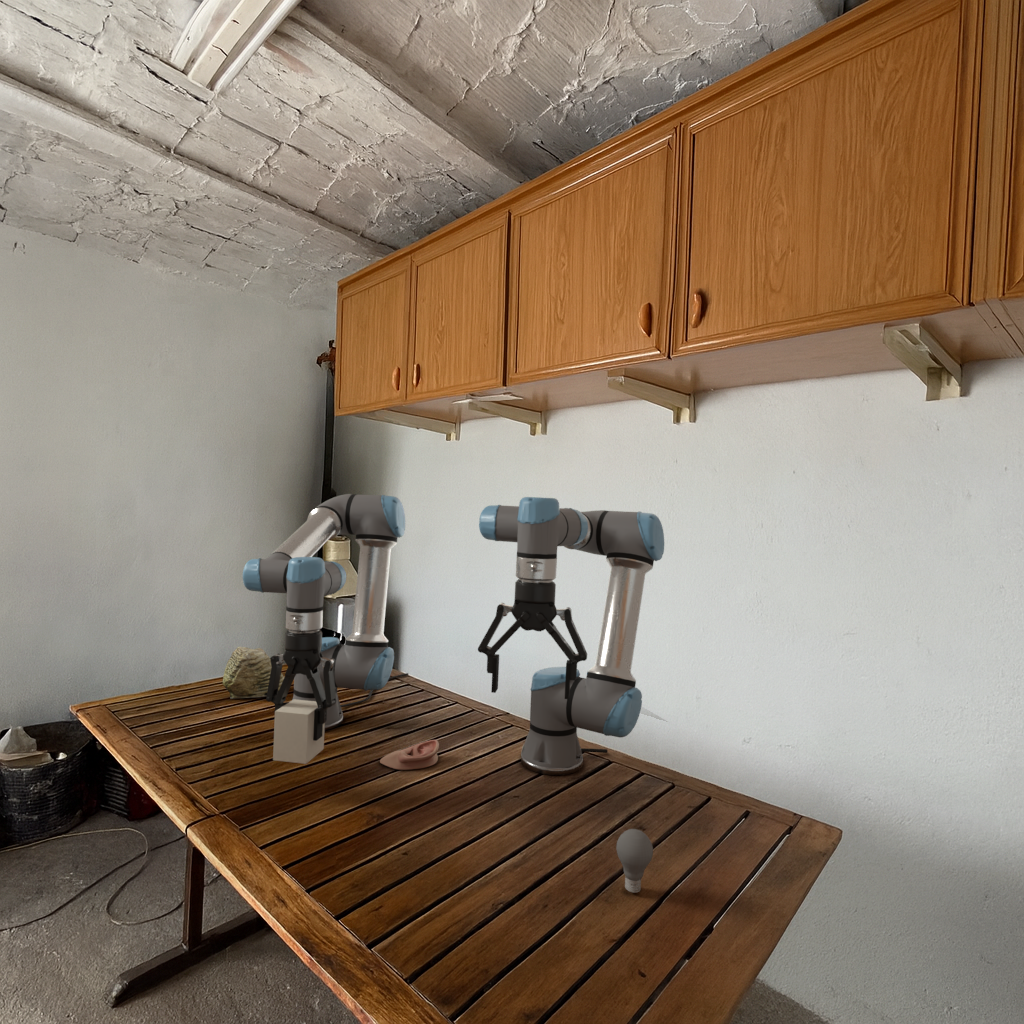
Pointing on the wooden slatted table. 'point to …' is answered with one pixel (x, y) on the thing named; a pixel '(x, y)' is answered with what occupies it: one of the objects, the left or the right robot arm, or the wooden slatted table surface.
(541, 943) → the wooden slatted table surface
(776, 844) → the wooden slatted table surface
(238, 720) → the wooden slatted table surface
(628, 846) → the light bulb
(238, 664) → the fossil
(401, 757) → the anatomical model
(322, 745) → the brick
